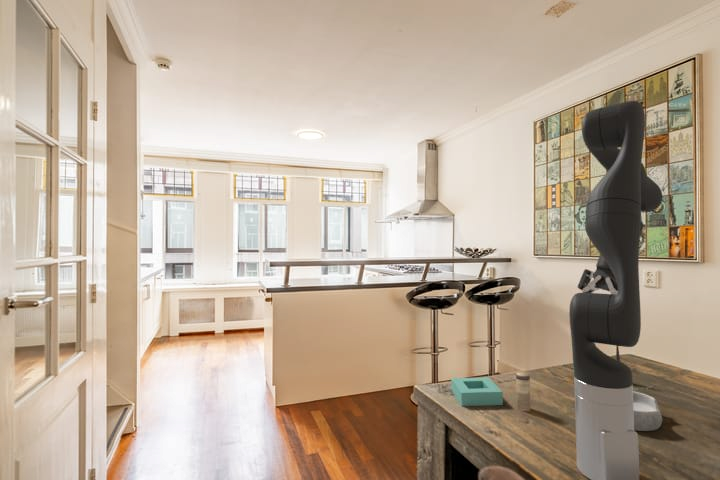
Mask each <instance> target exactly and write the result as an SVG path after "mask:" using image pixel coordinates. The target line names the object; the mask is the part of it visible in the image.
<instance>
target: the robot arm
mask: <svg viewBox="0 0 720 480" xmlns="http://www.w3.org/2000/svg"><path fill="white" fill-rule="evenodd" d="M645 129H646V115H645V108H644V107H643V104H642V103H641V102H640V101H637V100H628V101H623V102H618V103H615V104H614V103H613V104H610V105H606V106H603V107H599V108H595V109H592V110H590V111H587V112H586V113H585V114H584V116H583V117H582V120H581V136H582V140H583V142H584V145H585V146H586V148H587V149H588V151H589V152H590V154H591V155H592V156H593V157H594V158H595V159H596V161H598V163H600V165H601V166H602V167H603V168H604V169H605V170H606V171H607V172H606V173H605V174H604V175H603V177H602V178H601V179H600V180H599V181H598V183H597V184H596V185H595V187H594V188H593V189H592V190H591V192H590V194H589V195H588V198H587V200H586V207H585V220H584V221H585V222H584V229H585V232H586V235H587V238H588V239H589V241H590V242H591V243H592V245H593V246H594V247H595V249H596V250H597V251H598V253H599V257H598V259H597V262H596V269H595V271H592V270H590V269H584V270H583V272H582V275H581V277H580V280H579V282H578V285H577V288H578V289H579V290H580V291H581V292H577V293H575V294H574V295H573V296H572V297H571V300H570V302H569V313H568V314H569V326H570V328H569V329H570V336H571V337H570V338H571V349H572V363H573V379H574V380H573V381H574V384H573V385H574V419H575V420H574V423H575V444H576V447H575V449H576V468H577V470H578V471H579V472H580V473H581V474H582V475H583V476H584V477H586V478H587V479H589V480H640V460H639V433H637V432H638V431H636V430H634V410H633V387H634V385H633V380H634V379H633V378H634V377H633V371H632V369H631V368H630V367H629V366H628V364H625V363H624V362H622V361H621V360H620V361H618V360H616V358H613V357H612V356H610V355H608V354H606V353H605V352H604V351H602V350H601V349H600V348H599V347H597V345H596V344H600V345H601V344H603V345H608V346H615V347H616V346H618V347H625V348H633V347H635V346H636V345H637V344H638V342H639V340H640V338H641V337H640V336H641V331H642V329H641V328H642V326H641V325H642V322H641V319H642V317H641V316H642V314H641V312H642V311H641V298H640V296H641V294H640V293H641V291H640V273H639V271H640V269H639V258H640V257H639V256H640V239H641V236H642V235H641V234H642V232H643V230H644V223H643V221H642V212H644V213H649V212H650V213H651V212H654V211H656V210H657V209H658V208H659V207H660V206H661V204H662V202H663V192H662V190H661V187H660V186H659V185H658V184H657V183H656V182H655V181H654V180H653V179H651V178H650V177H649V176H648V174H647V171H646V168H645V165H644V164H643V162H642V158H643V149H644V140H645ZM599 290H603V291H607V292H609V293H597V292H596V291H599ZM594 292H596V293H594Z"/></svg>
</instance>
